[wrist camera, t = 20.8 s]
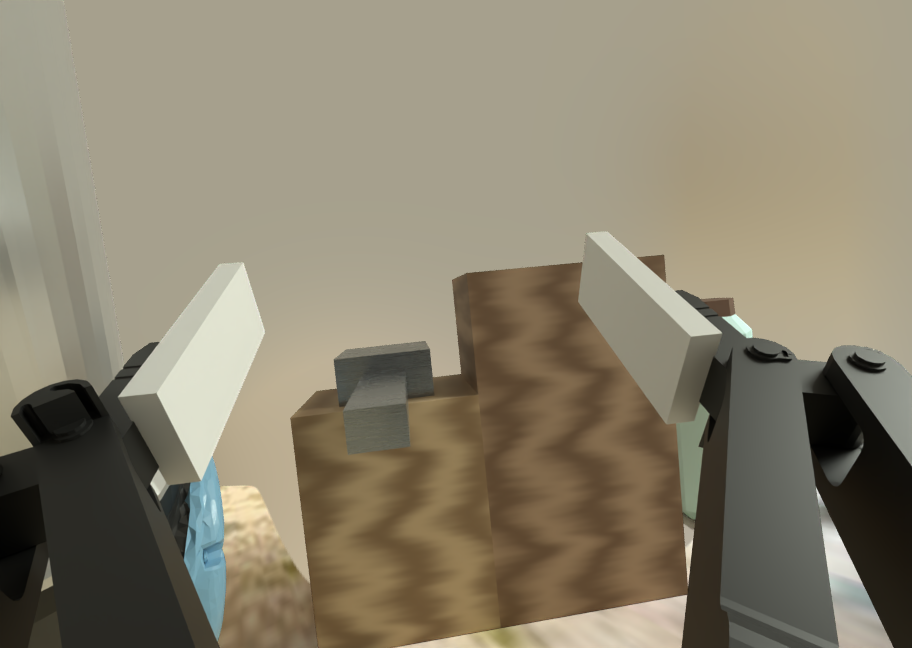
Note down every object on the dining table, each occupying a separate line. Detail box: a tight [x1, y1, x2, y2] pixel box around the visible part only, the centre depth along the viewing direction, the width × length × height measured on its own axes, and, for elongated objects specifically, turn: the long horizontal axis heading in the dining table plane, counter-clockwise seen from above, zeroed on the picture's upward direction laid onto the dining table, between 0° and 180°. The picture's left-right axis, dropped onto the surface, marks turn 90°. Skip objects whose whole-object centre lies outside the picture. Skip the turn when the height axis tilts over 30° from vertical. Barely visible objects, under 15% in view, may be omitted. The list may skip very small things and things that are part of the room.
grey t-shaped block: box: [334, 341, 434, 455], centre depth 36 cm, size 8×21×4 cm, turn 7°
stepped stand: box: [291, 255, 688, 648], centre depth 43 cm, size 32×11×30 cm, turn 97°
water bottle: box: [676, 298, 752, 520], centre depth 54 cm, size 10×10×25 cm
